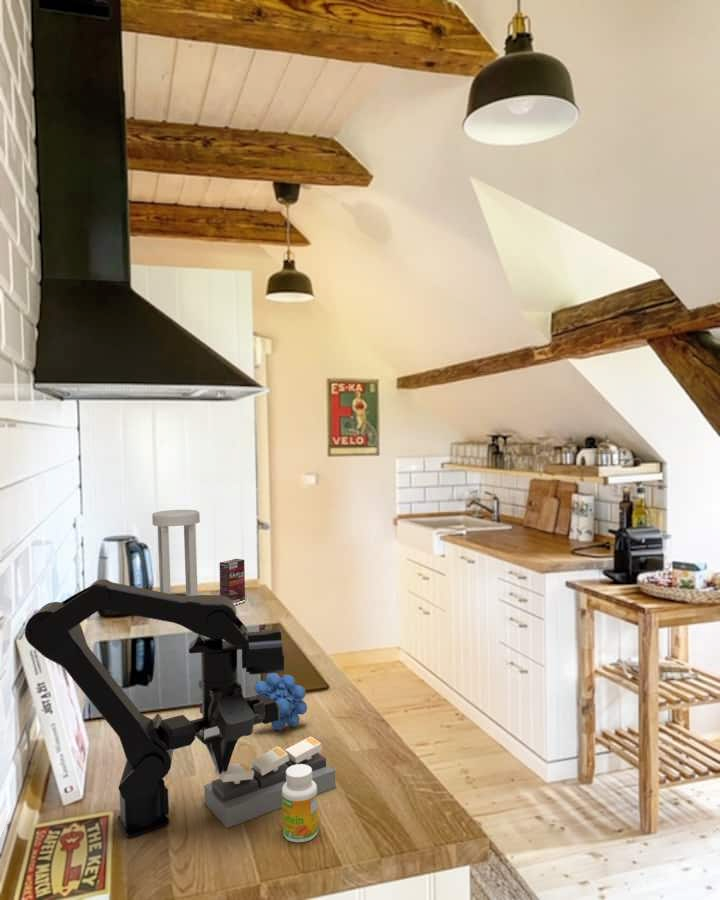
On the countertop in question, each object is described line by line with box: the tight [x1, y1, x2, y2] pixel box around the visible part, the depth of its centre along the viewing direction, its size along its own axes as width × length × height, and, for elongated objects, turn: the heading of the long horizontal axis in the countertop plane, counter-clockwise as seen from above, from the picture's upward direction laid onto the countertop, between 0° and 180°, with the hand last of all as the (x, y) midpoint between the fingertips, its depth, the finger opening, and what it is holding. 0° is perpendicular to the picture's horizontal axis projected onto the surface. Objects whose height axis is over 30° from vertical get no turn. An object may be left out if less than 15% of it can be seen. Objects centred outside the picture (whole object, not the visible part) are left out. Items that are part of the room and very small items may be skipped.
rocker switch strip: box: [203, 752, 337, 829], centre depth 115 cm, size 20×9×4 cm, turn 124°
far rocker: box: [284, 735, 323, 764], centre depth 119 cm, size 5×4×2 cm
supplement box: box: [219, 558, 246, 603], centre depth 246 cm, size 9×5×16 cm, turn 147°
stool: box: [151, 509, 201, 596], centre depth 238 cm, size 16×16×35 cm
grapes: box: [253, 673, 308, 731], centre depth 140 cm, size 12×7×12 cm, turn 109°
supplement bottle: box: [281, 764, 319, 843], centre depth 104 cm, size 5×5×10 cm
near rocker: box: [214, 762, 254, 784], centre depth 111 cm, size 5×4×2 cm
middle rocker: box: [250, 745, 289, 776], centre depth 115 cm, size 5×4×2 cm
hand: (222, 772), depth 110 cm, fingers closed, pressing on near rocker
